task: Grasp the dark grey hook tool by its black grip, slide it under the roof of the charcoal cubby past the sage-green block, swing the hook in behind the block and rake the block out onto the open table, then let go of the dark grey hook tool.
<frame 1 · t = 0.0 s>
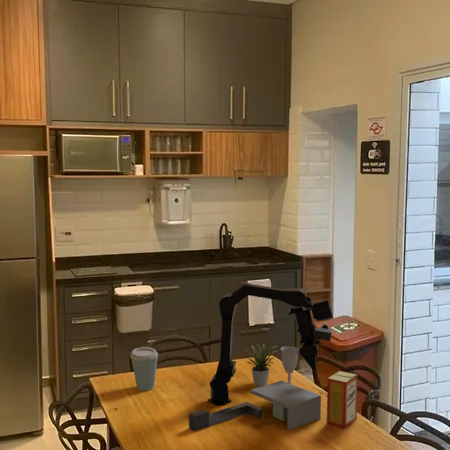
hand: (315, 366, 219), 15 cm above the table, tool pointing down, fingers open, 9 cm apart
cubby: (285, 415, 214), on the table
chalice: (289, 396, 233), on the table
block: (283, 416, 213), on the table
house plant: (263, 384, 245), on the table
baking soda box: (341, 421, 209), on the table
dark grey hook tool: (222, 419, 210), on the table
disposable coffee cup: (144, 388, 240), on the table
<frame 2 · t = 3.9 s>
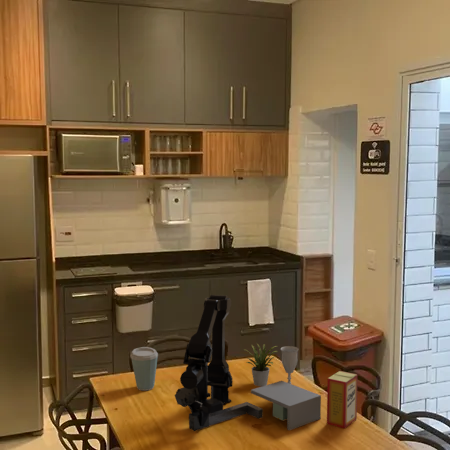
hand: (199, 424, 204), 1 cm above the table, tool pointing down, fingers closed on dark grey hook tool, 3 cm apart
dark grey hook tool: (222, 419, 210), on the table, touching gripper
everything else where it was.
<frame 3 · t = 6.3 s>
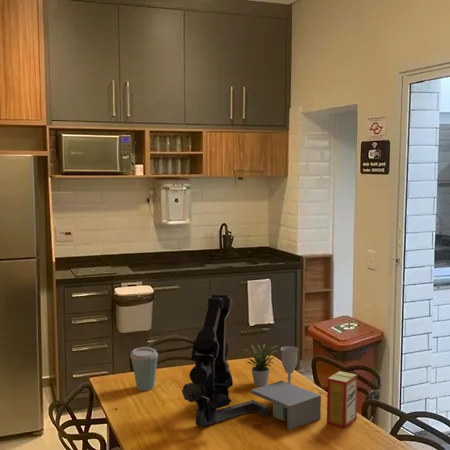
hand: (205, 419, 206), 2 cm above the table, tool pointing down, fingers closed on dark grey hook tool, 3 cm apart
dark grey hook tool: (228, 416, 212), on the table, touching gripper
everything else where it was.
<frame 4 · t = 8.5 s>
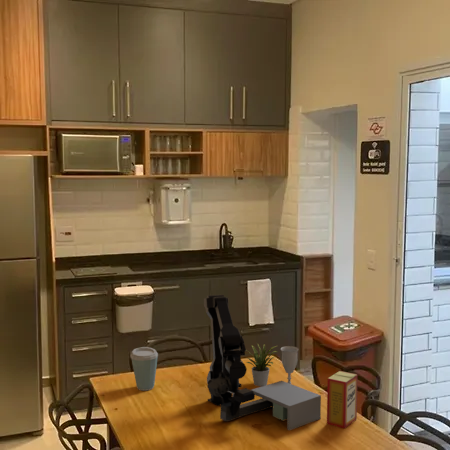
hand: (230, 413, 210), 2 cm above the table, tool pointing down, fingers closed on dark grey hook tool, 3 cm apart
dark grey hook tool: (251, 411, 216), on the table, touching gripper
everything else where it was.
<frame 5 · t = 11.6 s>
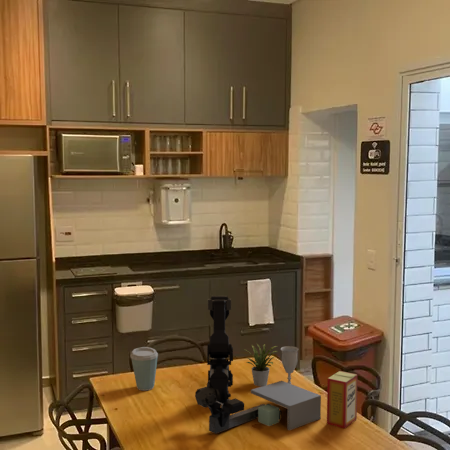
hand: (219, 425, 201), 2 cm above the table, tool pointing down, fingers closed on dark grey hook tool, 3 cm apart
block: (268, 421, 209), on the table, touching dark grey hook tool
dark grey hook tool: (241, 422, 208), on the table, touching block, gripper
everything else where it was.
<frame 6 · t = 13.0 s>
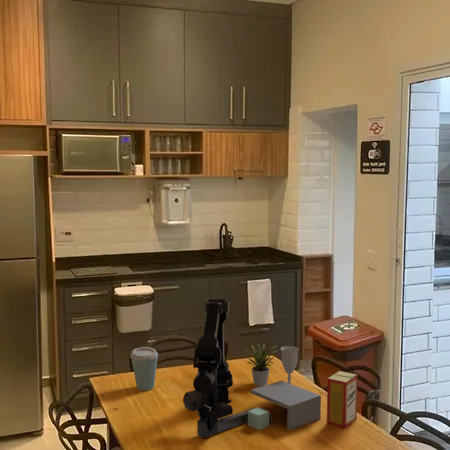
hand: (207, 429, 198), 2 cm above the table, tool pointing down, fingers closed on dark grey hook tool, 3 cm apart
block: (258, 425, 206), on the table
dark grey hook tool: (230, 425, 205), on the table, touching gripper
everything else where it was.
when the fingers open (2 cm above the table, at t = 13.0 s): dark grey hook tool stays where it is, on the table.
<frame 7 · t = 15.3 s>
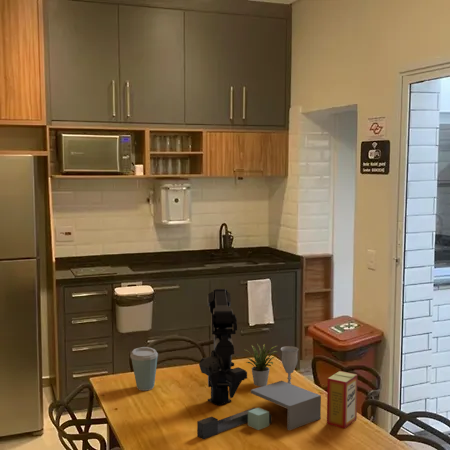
hand: (222, 393, 205), 11 cm above the table, tool pointing down, fingers open, 9 cm apart
dark grey hook tool: (230, 426, 205), on the table
everything else where it was.
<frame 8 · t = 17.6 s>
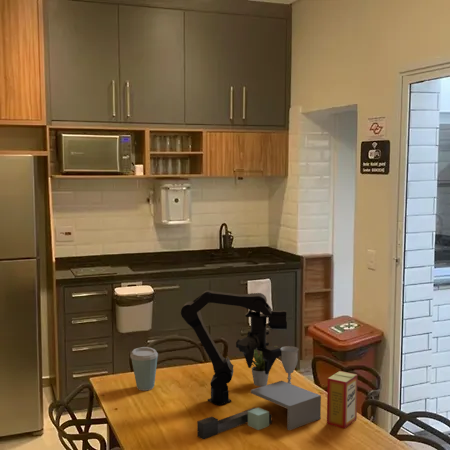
hand: (258, 370, 224), 12 cm above the table, tool pointing down, fingers open, 9 cm apart
nothing on the table moved.
at the end: block inside the target area (3.0 cm from its centre), on the table; block tilted 0°; the gripper is holding nothing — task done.
